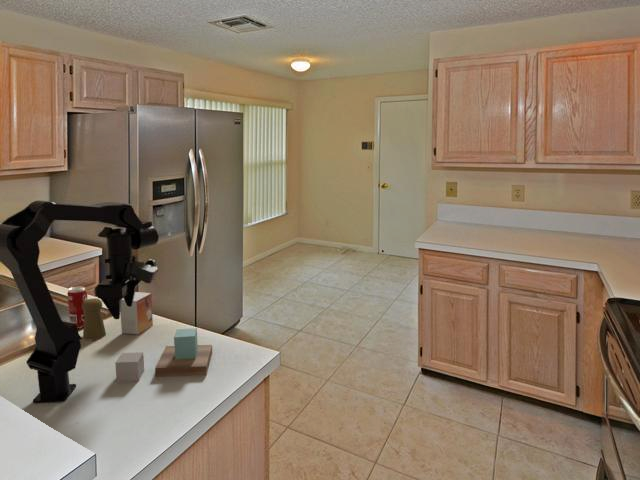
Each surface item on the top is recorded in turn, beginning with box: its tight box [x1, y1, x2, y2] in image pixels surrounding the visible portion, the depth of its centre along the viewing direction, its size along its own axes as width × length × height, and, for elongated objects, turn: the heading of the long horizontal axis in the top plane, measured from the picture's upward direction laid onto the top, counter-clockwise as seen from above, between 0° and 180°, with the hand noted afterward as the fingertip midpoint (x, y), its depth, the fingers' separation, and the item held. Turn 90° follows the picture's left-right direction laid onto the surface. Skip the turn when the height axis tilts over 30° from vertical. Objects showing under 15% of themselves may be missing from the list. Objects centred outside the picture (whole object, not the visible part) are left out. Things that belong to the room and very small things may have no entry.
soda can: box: [67, 285, 89, 329], centre depth 133 cm, size 5×5×12 cm
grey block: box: [115, 351, 145, 383], centre depth 105 cm, size 5×5×5 cm
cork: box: [82, 298, 107, 341], centre depth 126 cm, size 6×6×11 cm
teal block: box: [173, 327, 199, 360], centre depth 111 cm, size 5×5×6 cm
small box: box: [120, 291, 154, 335], centre depth 132 cm, size 8×6×10 cm
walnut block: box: [154, 344, 213, 378], centre depth 112 cm, size 12×12×3 cm
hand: (123, 312), depth 112 cm, fingers open, 9 cm apart
